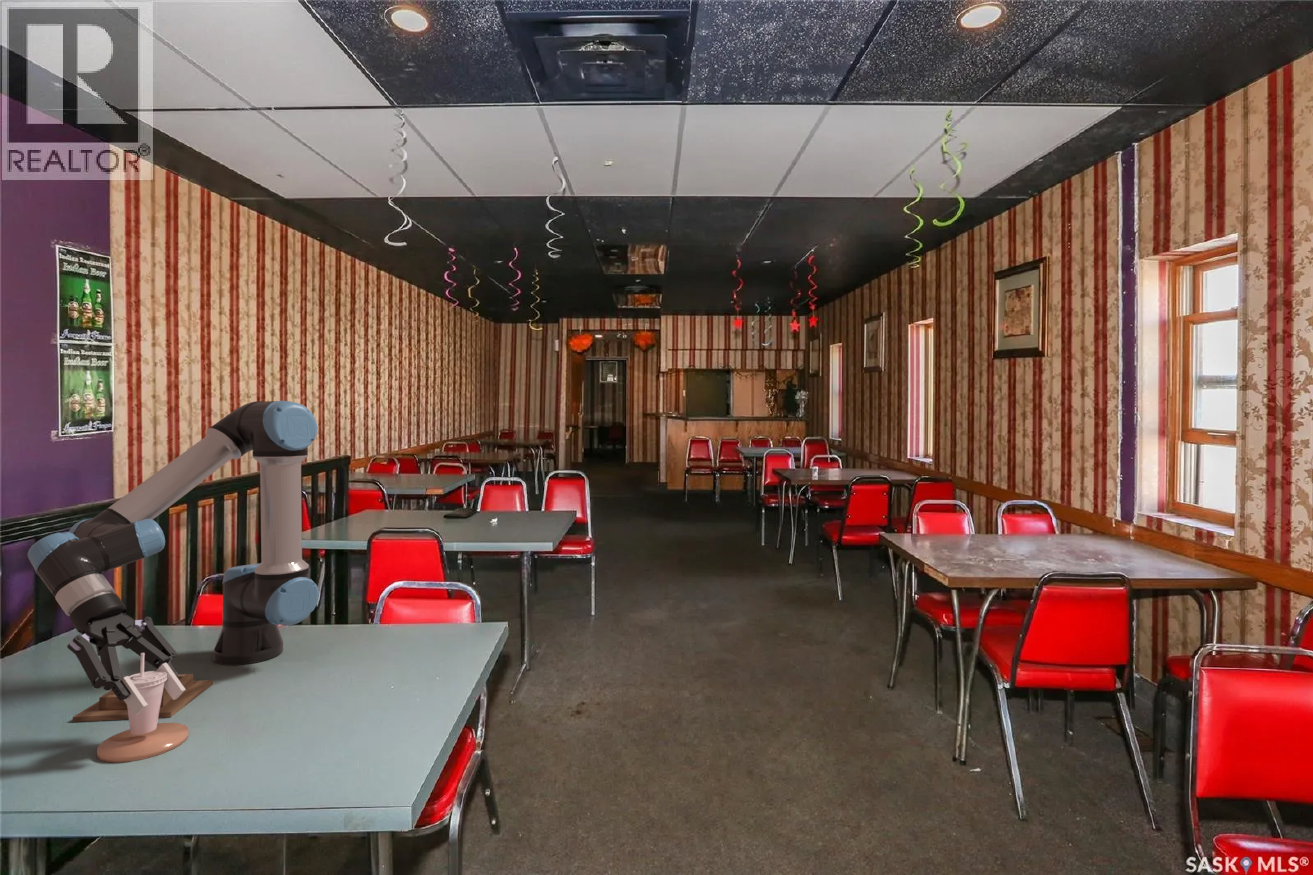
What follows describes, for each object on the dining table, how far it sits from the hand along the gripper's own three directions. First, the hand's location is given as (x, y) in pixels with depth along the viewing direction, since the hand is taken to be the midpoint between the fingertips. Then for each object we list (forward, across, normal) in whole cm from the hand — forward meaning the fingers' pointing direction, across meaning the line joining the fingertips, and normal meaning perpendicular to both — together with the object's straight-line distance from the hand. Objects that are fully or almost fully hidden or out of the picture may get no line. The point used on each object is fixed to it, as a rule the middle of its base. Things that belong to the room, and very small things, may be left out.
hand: (160, 702), depth 116 cm
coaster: (+3, 0, -8) cm, 9 cm away
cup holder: (-9, -14, -20) cm, 26 cm away
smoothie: (+1, 0, -7) cm, 7 cm away
